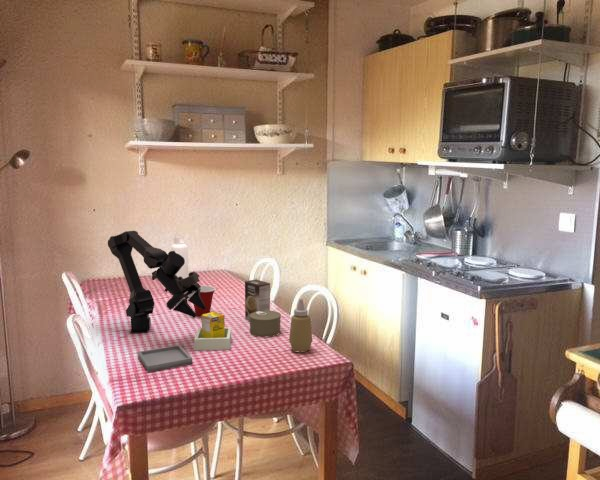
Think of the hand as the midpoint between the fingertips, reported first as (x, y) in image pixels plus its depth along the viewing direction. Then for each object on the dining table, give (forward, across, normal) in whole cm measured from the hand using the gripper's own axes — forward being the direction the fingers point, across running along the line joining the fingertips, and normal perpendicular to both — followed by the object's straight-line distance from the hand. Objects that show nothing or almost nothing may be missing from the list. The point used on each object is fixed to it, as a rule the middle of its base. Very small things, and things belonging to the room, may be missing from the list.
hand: (200, 312), depth 184 cm
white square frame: (+11, 0, +5) cm, 12 cm away
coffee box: (+17, +30, -1) cm, 35 cm away
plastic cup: (0, +33, +17) cm, 37 cm away
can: (+22, +17, -5) cm, 28 cm away
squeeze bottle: (+34, 0, -17) cm, 38 cm away
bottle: (-18, +66, +34) cm, 76 cm away
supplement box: (+11, 0, +5) cm, 12 cm away
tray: (+4, -18, +12) cm, 22 cm away
